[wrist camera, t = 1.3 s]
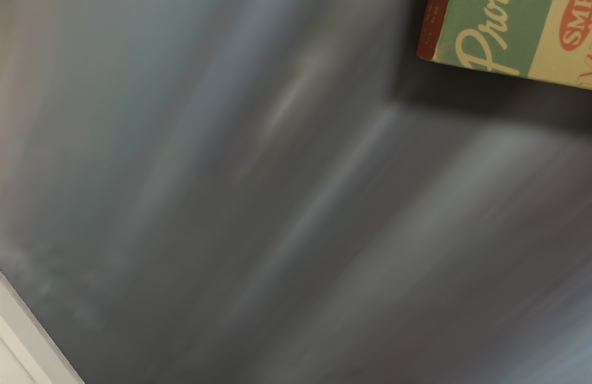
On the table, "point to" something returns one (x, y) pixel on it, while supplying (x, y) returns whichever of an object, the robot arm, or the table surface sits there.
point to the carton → (512, 38)
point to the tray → (28, 346)
